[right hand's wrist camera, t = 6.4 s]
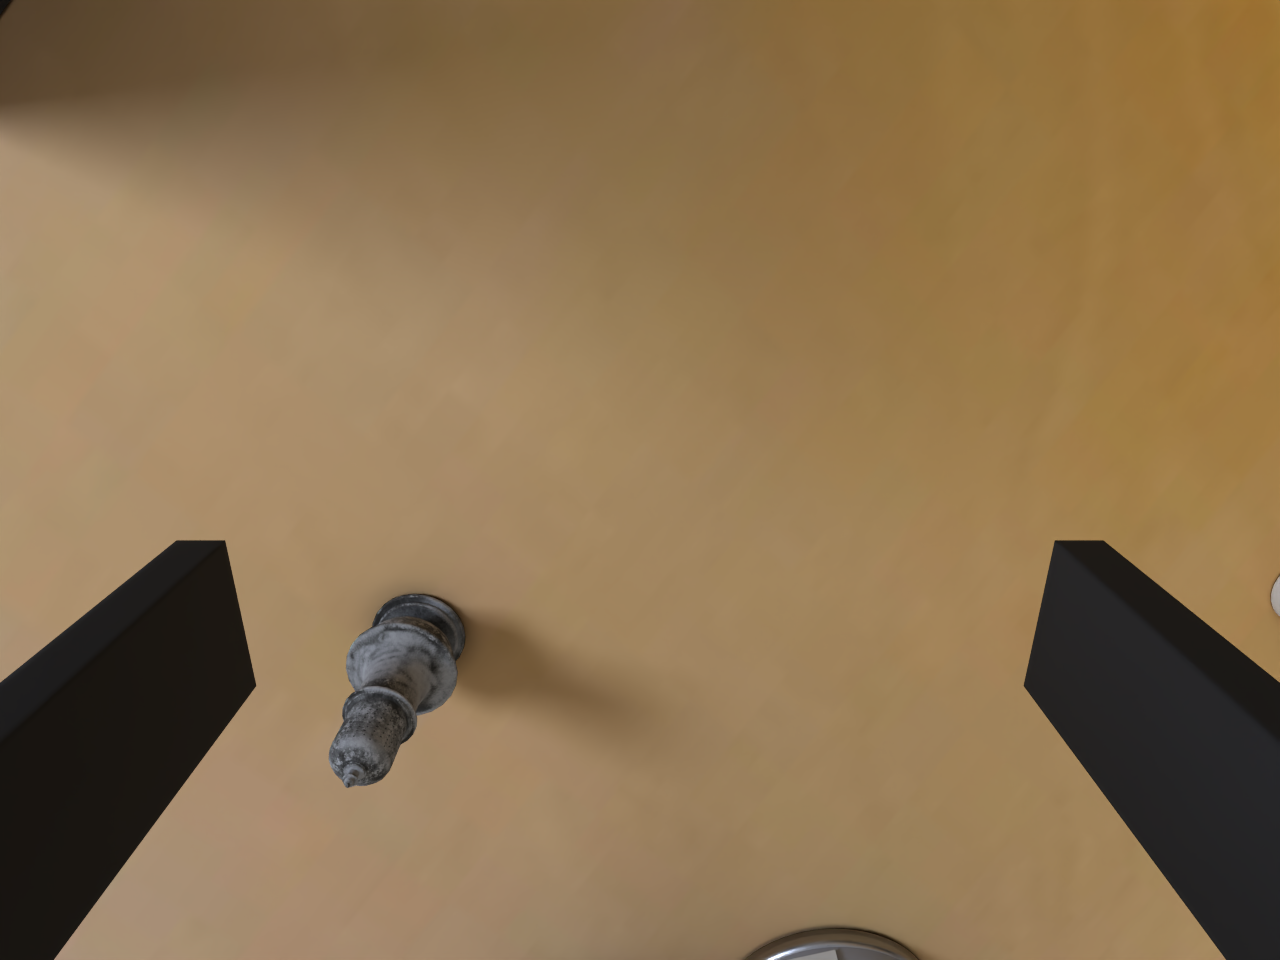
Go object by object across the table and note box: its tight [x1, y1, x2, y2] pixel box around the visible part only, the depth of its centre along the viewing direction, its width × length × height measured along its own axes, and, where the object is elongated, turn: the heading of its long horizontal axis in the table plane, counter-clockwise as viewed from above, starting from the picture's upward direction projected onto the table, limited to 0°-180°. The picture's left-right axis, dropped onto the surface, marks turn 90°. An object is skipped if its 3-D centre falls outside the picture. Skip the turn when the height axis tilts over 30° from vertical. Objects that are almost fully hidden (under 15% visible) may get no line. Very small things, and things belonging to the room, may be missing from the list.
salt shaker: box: [329, 594, 465, 788], centre depth 40 cm, size 6×6×12 cm
